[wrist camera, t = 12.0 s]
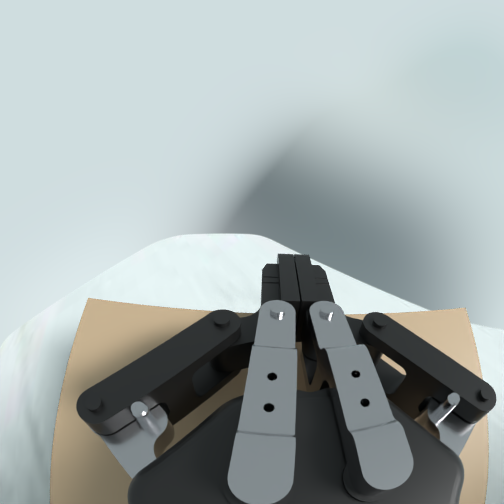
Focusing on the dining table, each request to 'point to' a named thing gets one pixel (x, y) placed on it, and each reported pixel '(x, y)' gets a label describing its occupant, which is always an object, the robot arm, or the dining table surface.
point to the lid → (165, 327)
